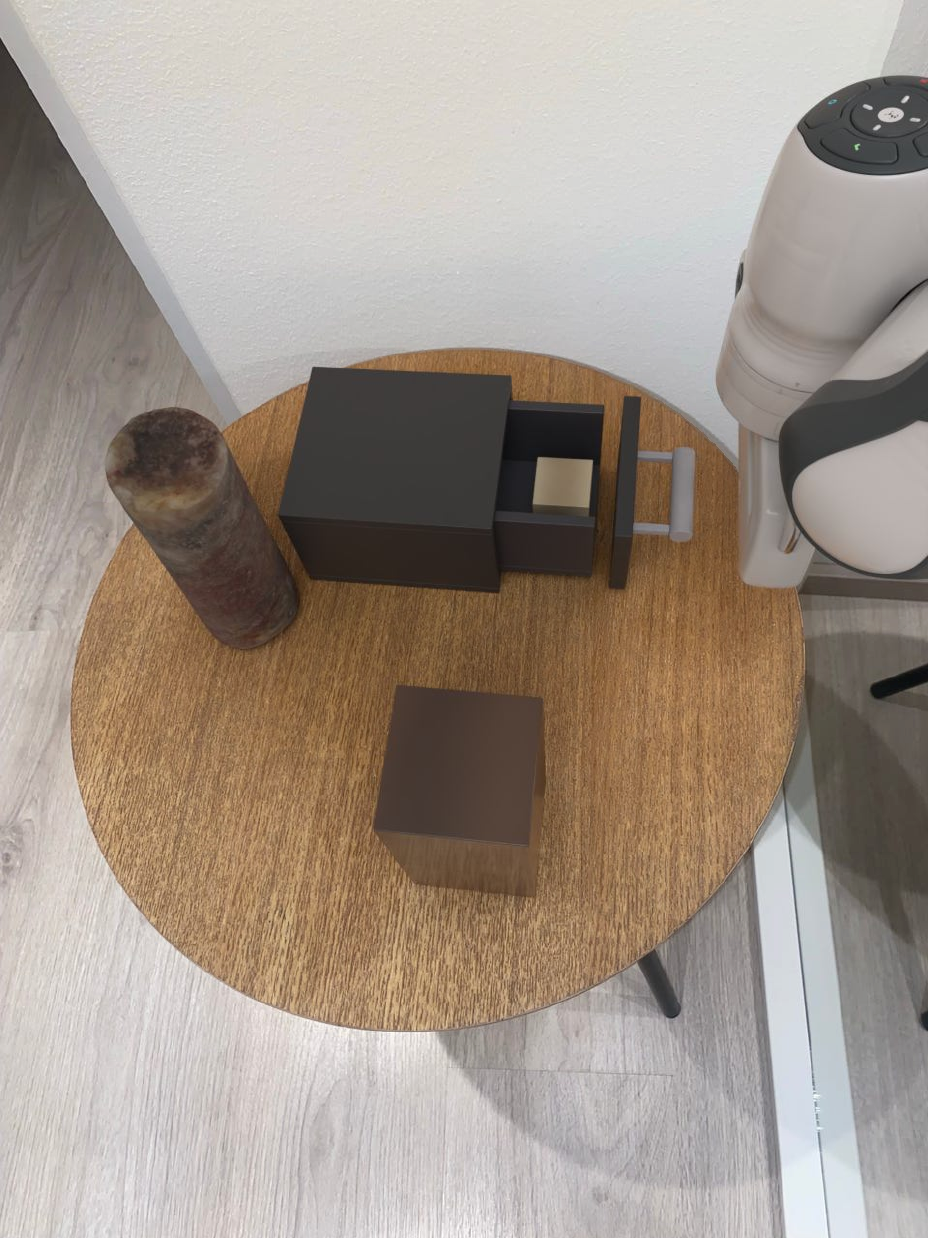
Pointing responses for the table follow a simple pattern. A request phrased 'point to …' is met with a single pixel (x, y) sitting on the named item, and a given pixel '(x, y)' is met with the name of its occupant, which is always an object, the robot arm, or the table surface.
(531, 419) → the drawer
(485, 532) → the dark box sleeve
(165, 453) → the brown cylinder
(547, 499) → the cube
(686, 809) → the table surface
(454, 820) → the stand
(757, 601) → the table surface
